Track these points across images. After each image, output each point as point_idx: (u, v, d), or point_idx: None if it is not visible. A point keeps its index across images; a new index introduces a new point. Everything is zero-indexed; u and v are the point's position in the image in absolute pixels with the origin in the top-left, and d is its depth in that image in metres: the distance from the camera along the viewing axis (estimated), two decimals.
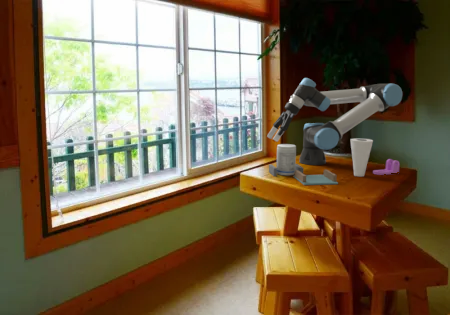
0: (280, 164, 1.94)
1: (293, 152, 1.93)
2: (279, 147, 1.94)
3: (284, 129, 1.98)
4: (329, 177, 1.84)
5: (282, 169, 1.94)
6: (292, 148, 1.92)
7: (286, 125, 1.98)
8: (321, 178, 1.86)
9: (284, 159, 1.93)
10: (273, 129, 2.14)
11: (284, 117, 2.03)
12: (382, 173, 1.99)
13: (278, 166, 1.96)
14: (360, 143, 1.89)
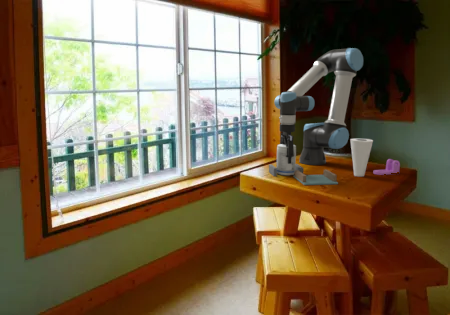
0: (280, 164, 1.94)
1: None
2: (279, 147, 1.94)
3: (291, 156, 1.89)
4: (329, 177, 1.84)
5: (282, 169, 1.94)
6: None
7: (291, 152, 1.89)
8: (321, 178, 1.86)
9: (284, 159, 1.93)
10: None
11: (285, 142, 1.92)
12: (382, 173, 1.99)
13: (278, 166, 1.96)
14: (360, 143, 1.89)
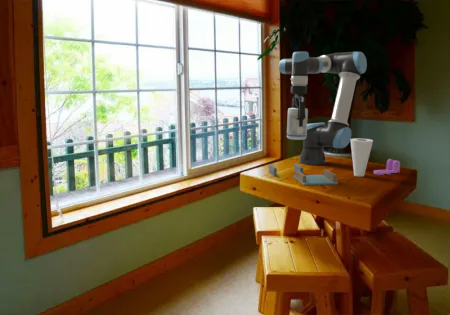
0: (291, 128, 1.86)
1: None
2: (290, 110, 1.86)
3: (302, 118, 1.81)
4: (329, 177, 1.84)
5: (292, 133, 1.86)
6: None
7: (302, 113, 1.80)
8: (321, 178, 1.86)
9: (295, 122, 1.85)
10: None
11: (296, 104, 1.84)
12: (382, 173, 1.99)
13: (289, 130, 1.88)
14: (360, 143, 1.89)
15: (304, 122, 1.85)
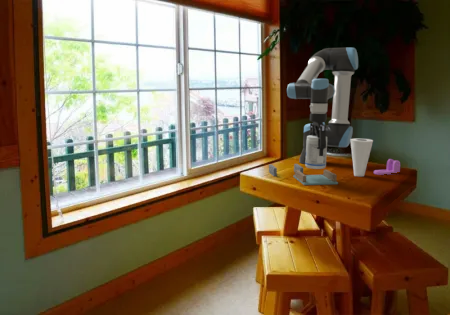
0: (310, 156, 1.80)
1: None
2: (309, 138, 1.79)
3: (323, 148, 1.75)
4: (329, 177, 1.84)
5: (312, 162, 1.80)
6: None
7: (323, 143, 1.74)
8: (321, 178, 1.86)
9: (315, 151, 1.78)
10: None
11: (316, 132, 1.78)
12: (383, 173, 1.99)
13: (308, 159, 1.81)
14: (360, 143, 1.89)
15: (324, 151, 1.79)
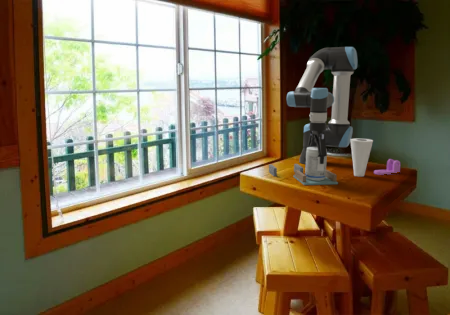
0: (310, 168, 1.81)
1: None
2: (309, 150, 1.80)
3: (324, 156, 1.74)
4: (329, 177, 1.84)
5: (312, 174, 1.81)
6: None
7: (323, 151, 1.74)
8: None
9: (314, 163, 1.79)
10: None
11: (316, 141, 1.78)
12: (383, 173, 1.99)
13: (308, 171, 1.82)
14: (360, 143, 1.89)
15: (324, 163, 1.80)
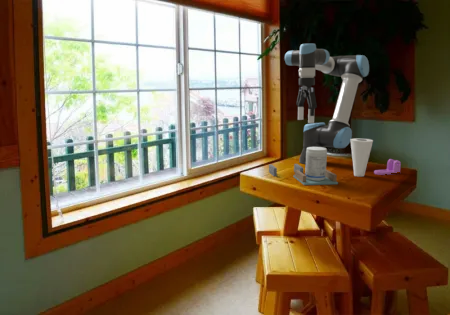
0: (310, 168, 1.81)
1: (324, 156, 1.79)
2: (309, 150, 1.80)
3: (314, 108, 1.82)
4: (329, 177, 1.84)
5: (312, 174, 1.81)
6: (323, 151, 1.79)
7: (313, 103, 1.81)
8: None
9: (314, 163, 1.79)
10: (300, 109, 1.97)
11: (305, 95, 1.86)
12: (383, 173, 1.99)
13: (308, 171, 1.82)
14: (360, 143, 1.89)
15: (324, 163, 1.80)
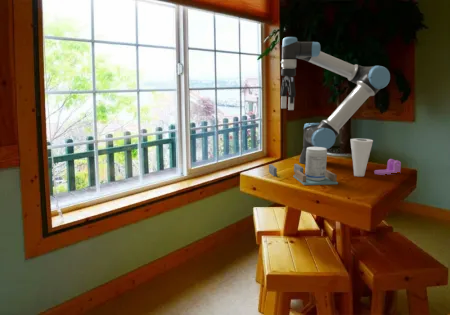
0: (310, 168, 1.81)
1: (324, 156, 1.79)
2: (309, 150, 1.80)
3: (293, 96, 1.98)
4: (329, 177, 1.84)
5: (312, 174, 1.81)
6: (323, 151, 1.79)
7: (293, 91, 1.97)
8: None
9: (314, 163, 1.79)
10: (283, 99, 2.13)
11: (286, 84, 2.02)
12: (383, 173, 1.99)
13: (308, 171, 1.82)
14: (360, 143, 1.89)
15: (324, 163, 1.80)
